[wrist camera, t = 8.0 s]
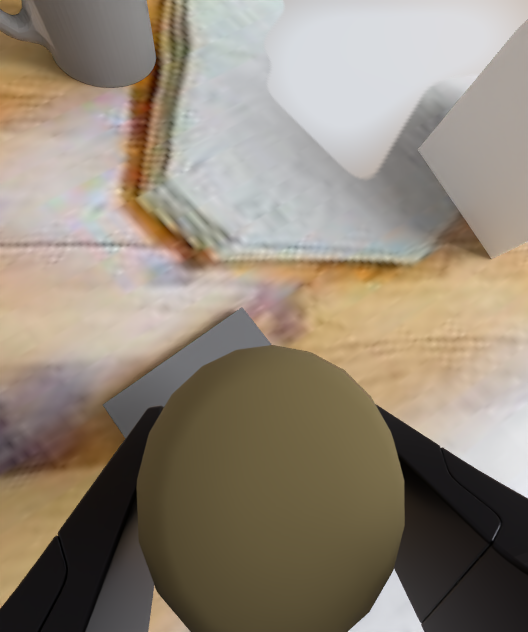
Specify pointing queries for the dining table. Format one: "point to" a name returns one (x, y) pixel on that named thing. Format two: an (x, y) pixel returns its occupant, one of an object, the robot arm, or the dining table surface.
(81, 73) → the coffee mug
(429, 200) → the dining table surface
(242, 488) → the cork
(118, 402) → the charcoal mat
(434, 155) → the white slotted block
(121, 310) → the dining table surface
